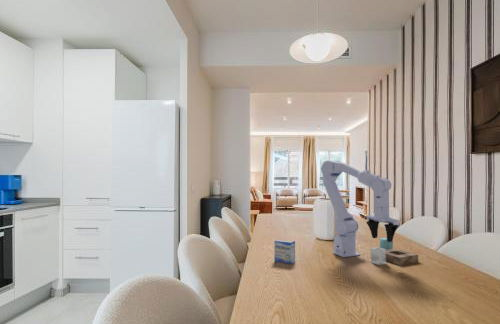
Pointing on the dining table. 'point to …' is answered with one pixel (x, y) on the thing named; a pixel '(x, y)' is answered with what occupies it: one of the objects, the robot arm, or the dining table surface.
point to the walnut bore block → (400, 257)
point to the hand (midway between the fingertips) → (382, 239)
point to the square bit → (378, 256)
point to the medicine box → (284, 251)
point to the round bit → (386, 244)
